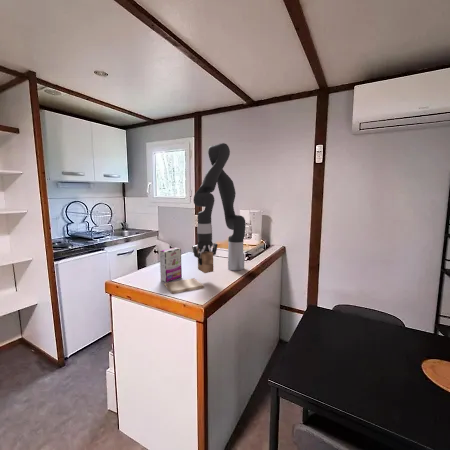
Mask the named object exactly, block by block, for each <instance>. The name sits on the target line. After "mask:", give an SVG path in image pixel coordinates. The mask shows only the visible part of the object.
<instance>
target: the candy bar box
mask: <svg viewBox="0 0 450 450" xmlns="http://www.w3.org/2000/svg"><path fill="white" fill-rule="evenodd" d="M159 264H160V265H159V267H160V269H159V270H160V271H159V272H160V281H161V282H163V283H169V282H173V281H176V280H177V279H181V278H182V276H183V275H182V274H183V273H182V248H179V247H176V246H175V247H172V248H171V247H170V248H167V249H166V248H165V249H161V250H159Z"/></svg>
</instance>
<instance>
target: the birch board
mask: <svg viewBox="0 0 450 450" xmlns="http://www.w3.org/2000/svg"><path fill="white" fill-rule="evenodd" d="M164 287H166V288H167V290H168V291H169V292H170V293H171V294H178V293H182V292H188V291H193V290H194V291H195V290H198V289H203V288H205V286H204V284H203V283H201V282H200V281H198V280H197V279H196V278H195V277H194V278H187V279H181V280H174V281H169V282H164Z"/></svg>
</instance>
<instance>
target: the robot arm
mask: <svg viewBox="0 0 450 450" xmlns="http://www.w3.org/2000/svg"><path fill="white" fill-rule="evenodd" d="M207 153H208V158H209V161H210V165H211V167H210V168H209V169H208V171H207V172H206V174H205V175H204V177H203V180H202V182H201V183H202V184H201V185H200V187H198V189H197V191H196V192H195V193H194V195H193V204H194V206H196V207H199V208H201V207H202V208H204V207H205V208H204V209H203V210H202V211H199V212H198V213H197V217H196V218H197V226H196V227H197V228H196V229H197V230H196V231H197V233H196V235H197V244H196V245H192V247H191V248H192V249H191V250H192V252H193V255H194V257H195V258H197V264H198V263H199V265H202V253H204V252H205V251H209V252H213V256H215V255H217V250H218V243H216V242H214V243H213V227H212V226H213V225H212V215H213V214H212V213H213V209H214V205H215V196H214V195H213V193H212V192H214V191H215V190H216V186H217V189H218V192H219V196H220V199H221V204H222V209H223V214H224V221H225V225H226V227H227V228H228V229H229V230H231V231H232V235H230V236H228V237H227V238H228V239H227V240H228V241H227V242H228V243H227V244H228V247H227V248H228V249H227V250H228V251H227V252H228V254H227V268H228V270H230V271H234V272H235V271H242V270H244V269H245V258H246V256H245V253H244V240H245V237H246V219H245V217H244V216H242V215H238V214H236V213H235V209H234V208H235V207H234V203H235V199H236V187H235V185H234V182H233V180H232V179H231V177H230V176H229V175H228V174H227V173H226V172H225V170H224V168H225V166H226V164H227V162H228V160H229V158H230V156H231V155H230V154H231V151H230V147H229V145H228V144H227V143H225V142H222V143H218V144H214V145H213V144H212V145H211V146H209V147H208V150H207Z"/></svg>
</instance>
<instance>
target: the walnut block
mask: <svg viewBox="0 0 450 450" xmlns="http://www.w3.org/2000/svg"><path fill="white" fill-rule="evenodd" d="M197 270H198V271H200V272H202V273H203V274H208V273H212V272H213V273H214V255H213V252H209V251H205V252H204V253H202V265H199V263H198V262H197Z"/></svg>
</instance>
